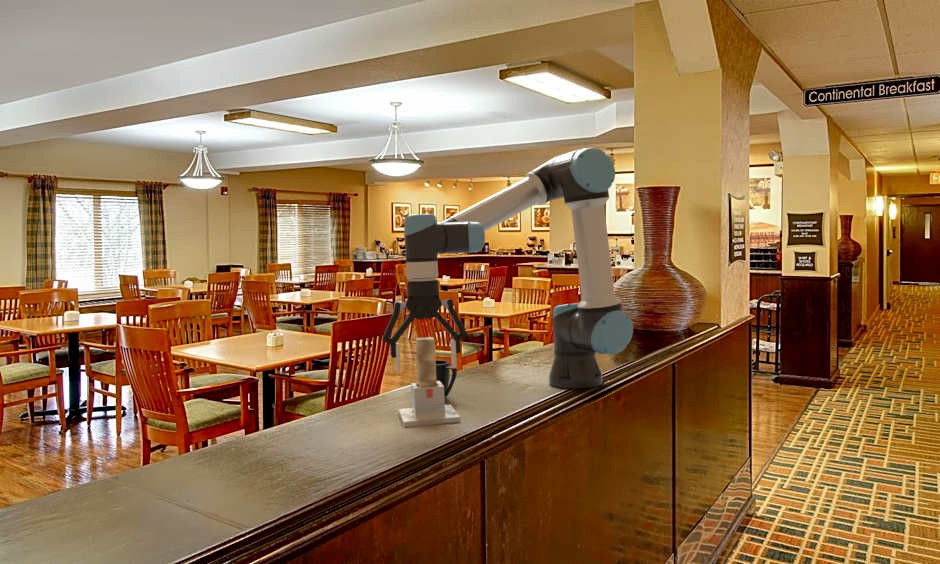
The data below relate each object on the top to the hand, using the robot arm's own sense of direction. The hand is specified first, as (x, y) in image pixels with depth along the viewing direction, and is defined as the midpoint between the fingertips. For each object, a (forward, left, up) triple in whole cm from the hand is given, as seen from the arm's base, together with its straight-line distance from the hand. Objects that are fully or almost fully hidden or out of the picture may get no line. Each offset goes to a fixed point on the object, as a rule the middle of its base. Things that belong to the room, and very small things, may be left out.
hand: (426, 369), depth 160 cm
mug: (-6, -20, -12) cm, 24 cm away
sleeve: (0, 0, -12) cm, 12 cm away
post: (0, 0, -12) cm, 12 cm away
